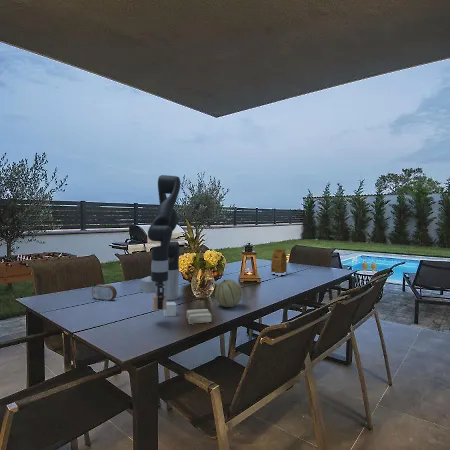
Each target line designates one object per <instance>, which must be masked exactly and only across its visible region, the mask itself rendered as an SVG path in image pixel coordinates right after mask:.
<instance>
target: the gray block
mask: <svg viewBox="0 0 450 450" xmlns="http://www.w3.org/2000/svg"><path fill="white" fill-rule="evenodd" d="M186 319H188V320H187V322H188V325H189V324H192V325H194V324H193V323H203V322H211V323H212V314H211V312H210V310H209V309H208V308H203V309H201V308H198V309H187V310H186Z"/></svg>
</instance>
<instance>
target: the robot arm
mask: <svg viewBox="0 0 450 450" xmlns="http://www.w3.org/2000/svg"><path fill="white" fill-rule="evenodd" d="M180 189H181V178H180V177H179V176H176V175H169V174H168V175H165V174H160V175H159V176H158V179H157V191H158V199H159V201H158V202H159V206H158V207H157V210H156V215H155V218H154V219H153V221H152V223H151V224H150V226H149V228H148V230H147V237H148V239H149V240H150V241H152V242H160V245H158V246H153V247H152V250H151V266H150V267H151V268H150V269H151V270H150V271H151V272H150V273H151V274H150V276H151V280H152V281H154V282H156V284H155V292H154V294H155V295H156V296H157V301H158V309H163V300H164V294H165V295H166V301H174V300H178V299H179V289H180V288H179V282H180V281H179V279H180V278H179V277H180V272H179V271H180V270H179V269H180V263H179V262H180V261H179V260H180V243H179V241H171V239H172V236H173V231H175V229H176V227H177V224H178V213H177V211H176V210H175V204H176V202H177V198H178V196H179V193H180ZM167 195H168V196H167ZM169 258H173V259H172V260H171V261H169ZM159 296H162V298H159Z"/></svg>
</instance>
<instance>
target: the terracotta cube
mask: <svg viewBox="0 0 450 450" xmlns="http://www.w3.org/2000/svg"><path fill="white" fill-rule="evenodd" d="M159 298H162V296H159ZM166 302H167V300H166V295H165V294H164V300H163V309H158V301H157V296H156V294H153V295H152V310H153V312H154V311H155V312H156V311H164V310H166Z"/></svg>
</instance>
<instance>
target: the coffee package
mask: <svg viewBox="0 0 450 450" xmlns="http://www.w3.org/2000/svg"><path fill="white" fill-rule="evenodd" d="M287 262H288V257H287V254H286V249H284V248H283V249H279V248H276V247H275V248H274V250H273V254H272V257H271V263H270V264H271V265H270V273H271V272H275V273H284V272H286V273H287V272H288V271H287V269H288V268H287V267H288V266H287V264H288V263H287Z"/></svg>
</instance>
